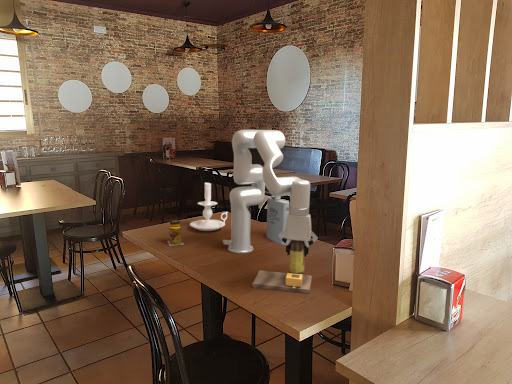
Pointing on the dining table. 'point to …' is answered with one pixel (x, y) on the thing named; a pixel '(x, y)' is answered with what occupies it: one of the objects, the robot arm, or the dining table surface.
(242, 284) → the dining table surface
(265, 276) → the plank
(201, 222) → the candlestick
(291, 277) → the block
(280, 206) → the flask
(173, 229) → the condiment
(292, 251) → the sauce bottle
